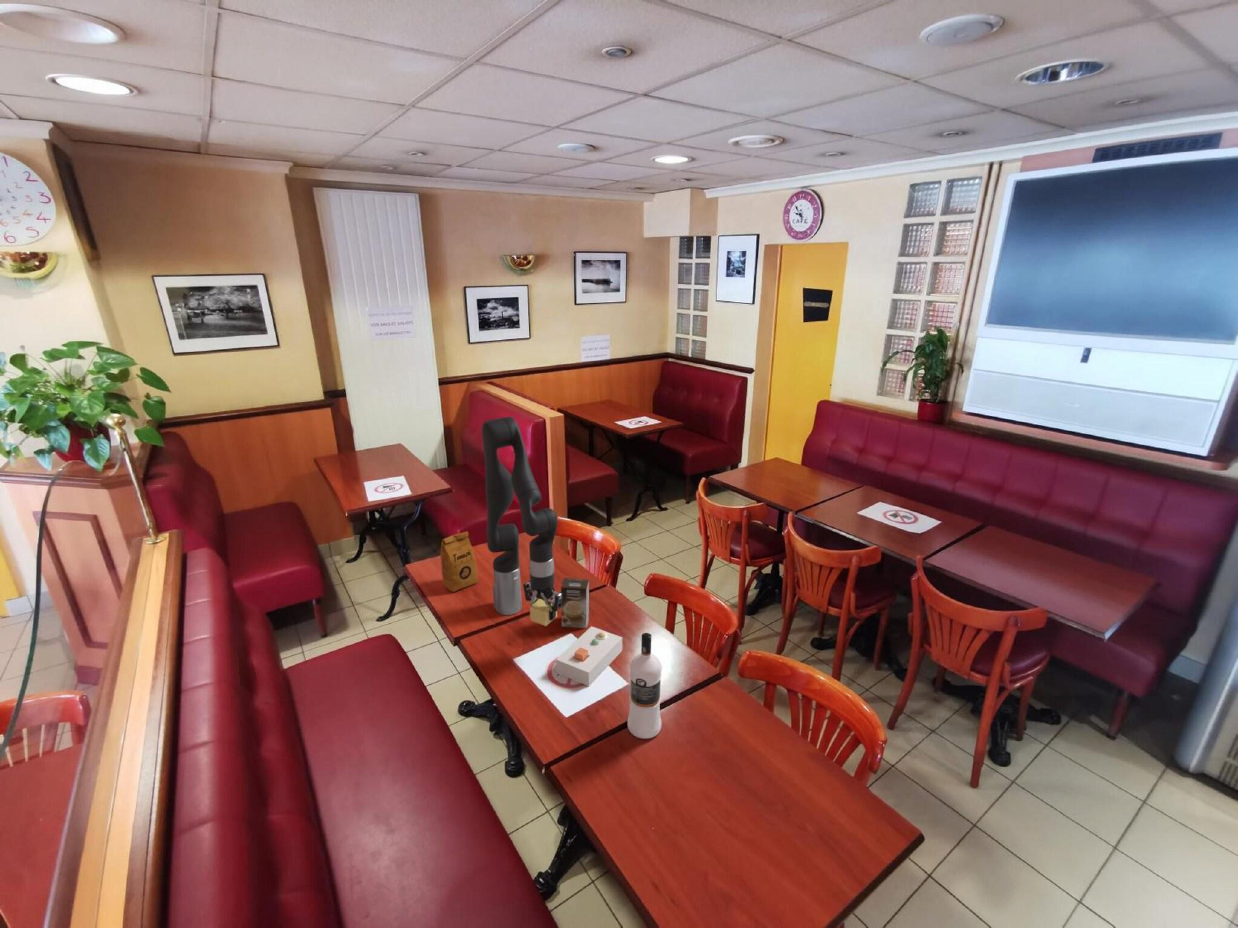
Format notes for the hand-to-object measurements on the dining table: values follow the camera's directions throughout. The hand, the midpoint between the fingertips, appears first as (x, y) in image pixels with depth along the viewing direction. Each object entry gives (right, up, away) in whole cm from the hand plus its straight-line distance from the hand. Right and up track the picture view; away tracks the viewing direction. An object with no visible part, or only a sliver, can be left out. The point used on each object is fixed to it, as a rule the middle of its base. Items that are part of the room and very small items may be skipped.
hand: (543, 615), depth 186 cm
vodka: (+31, -24, -26) cm, 47 cm away
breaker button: (+12, -14, -4) cm, 19 cm away
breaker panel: (+15, -15, 0) cm, 21 cm away
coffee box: (+9, -8, +20) cm, 23 cm away
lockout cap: (0, -1, 0) cm, 1 cm away
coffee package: (-38, +1, +44) cm, 58 cm away
